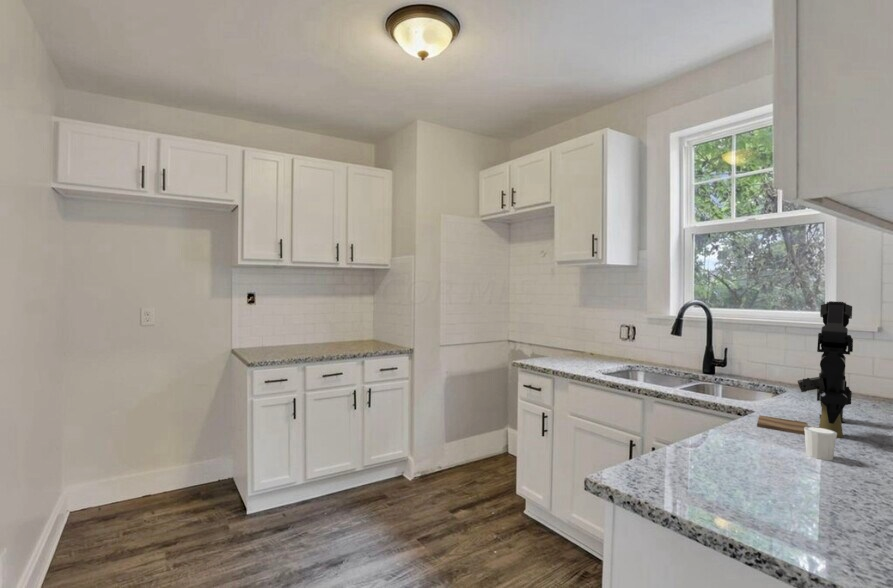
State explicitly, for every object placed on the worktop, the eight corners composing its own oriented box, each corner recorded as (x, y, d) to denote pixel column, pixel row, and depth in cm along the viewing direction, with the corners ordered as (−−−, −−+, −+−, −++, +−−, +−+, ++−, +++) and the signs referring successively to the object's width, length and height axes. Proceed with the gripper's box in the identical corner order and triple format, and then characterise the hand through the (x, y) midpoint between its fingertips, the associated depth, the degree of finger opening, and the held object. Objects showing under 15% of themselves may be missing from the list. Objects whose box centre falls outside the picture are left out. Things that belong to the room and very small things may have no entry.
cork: (833, 432, 147) (835, 397, 147) (848, 438, 141) (849, 401, 141) (813, 431, 147) (814, 396, 147) (826, 437, 141) (828, 400, 141)
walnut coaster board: (759, 418, 161) (759, 415, 161) (807, 425, 153) (807, 422, 153) (756, 426, 151) (757, 423, 151) (807, 435, 143) (808, 431, 143)
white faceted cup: (831, 454, 126) (832, 428, 126) (839, 462, 120) (841, 435, 120) (800, 450, 129) (801, 424, 129) (806, 458, 123) (807, 431, 123)
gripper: (799, 364, 156) (797, 410, 156) (800, 371, 141) (798, 423, 141) (843, 368, 149) (841, 417, 150) (848, 376, 134) (846, 430, 135)
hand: (830, 421), depth 144 cm, fingers closed on cork, 4 cm apart
